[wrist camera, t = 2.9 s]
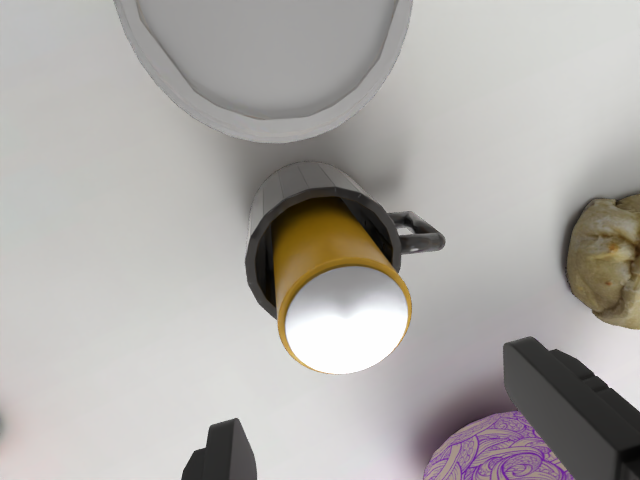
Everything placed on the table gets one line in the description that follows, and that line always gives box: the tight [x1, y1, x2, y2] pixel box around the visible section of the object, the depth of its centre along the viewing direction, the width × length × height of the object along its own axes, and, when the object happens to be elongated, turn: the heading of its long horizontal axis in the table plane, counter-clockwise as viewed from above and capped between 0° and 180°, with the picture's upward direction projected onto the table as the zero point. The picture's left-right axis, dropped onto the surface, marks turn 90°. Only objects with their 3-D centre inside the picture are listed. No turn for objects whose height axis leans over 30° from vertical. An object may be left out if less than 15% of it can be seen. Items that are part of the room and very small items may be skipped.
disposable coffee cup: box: [113, 0, 413, 143], centre depth 16 cm, size 10×10×12 cm
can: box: [271, 196, 412, 374], centre depth 20 cm, size 5×5×12 cm
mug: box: [245, 161, 445, 319], centre depth 23 cm, size 11×8×8 cm
